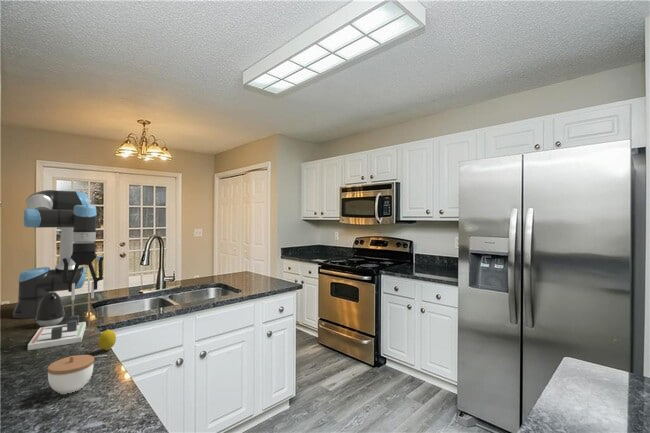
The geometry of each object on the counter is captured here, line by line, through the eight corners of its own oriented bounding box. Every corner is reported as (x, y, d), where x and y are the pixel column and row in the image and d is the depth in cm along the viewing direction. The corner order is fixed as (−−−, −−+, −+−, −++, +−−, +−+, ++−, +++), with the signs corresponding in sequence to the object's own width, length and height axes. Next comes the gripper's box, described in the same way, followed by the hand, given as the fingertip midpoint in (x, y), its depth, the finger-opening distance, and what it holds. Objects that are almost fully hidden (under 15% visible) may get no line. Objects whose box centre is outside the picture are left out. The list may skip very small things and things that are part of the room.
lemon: (113, 346, 124) (114, 325, 124) (117, 350, 120) (117, 329, 120) (96, 350, 120) (97, 329, 121) (99, 354, 116) (100, 333, 117)
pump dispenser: (38, 330, 140) (39, 296, 140) (32, 325, 146) (33, 292, 147) (67, 324, 148) (68, 292, 148) (60, 320, 154) (61, 288, 155)
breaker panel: (39, 332, 138) (40, 327, 138) (85, 326, 146) (86, 321, 147) (27, 350, 119) (27, 344, 119) (81, 341, 128) (81, 336, 128)
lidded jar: (40, 402, 86) (41, 367, 86) (55, 383, 96) (55, 352, 96) (88, 394, 91) (88, 361, 91) (97, 376, 100) (98, 347, 101)
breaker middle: (68, 329, 136) (68, 320, 136) (76, 327, 137) (77, 319, 137) (67, 331, 133) (67, 322, 133) (76, 330, 135) (76, 321, 135)
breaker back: (70, 323, 142) (70, 316, 142) (78, 322, 144) (79, 315, 144) (69, 325, 140) (69, 317, 140) (78, 324, 141) (78, 316, 141)
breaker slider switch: (52, 336, 127) (52, 328, 127) (62, 335, 128) (62, 326, 128) (51, 339, 124) (51, 330, 124) (61, 337, 126) (61, 328, 126)
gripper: (53, 243, 123) (51, 303, 123) (111, 242, 133) (110, 297, 133) (56, 242, 129) (54, 299, 129) (111, 241, 139) (110, 294, 139)
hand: (82, 298), depth 131 cm, fingers open, 6 cm apart
